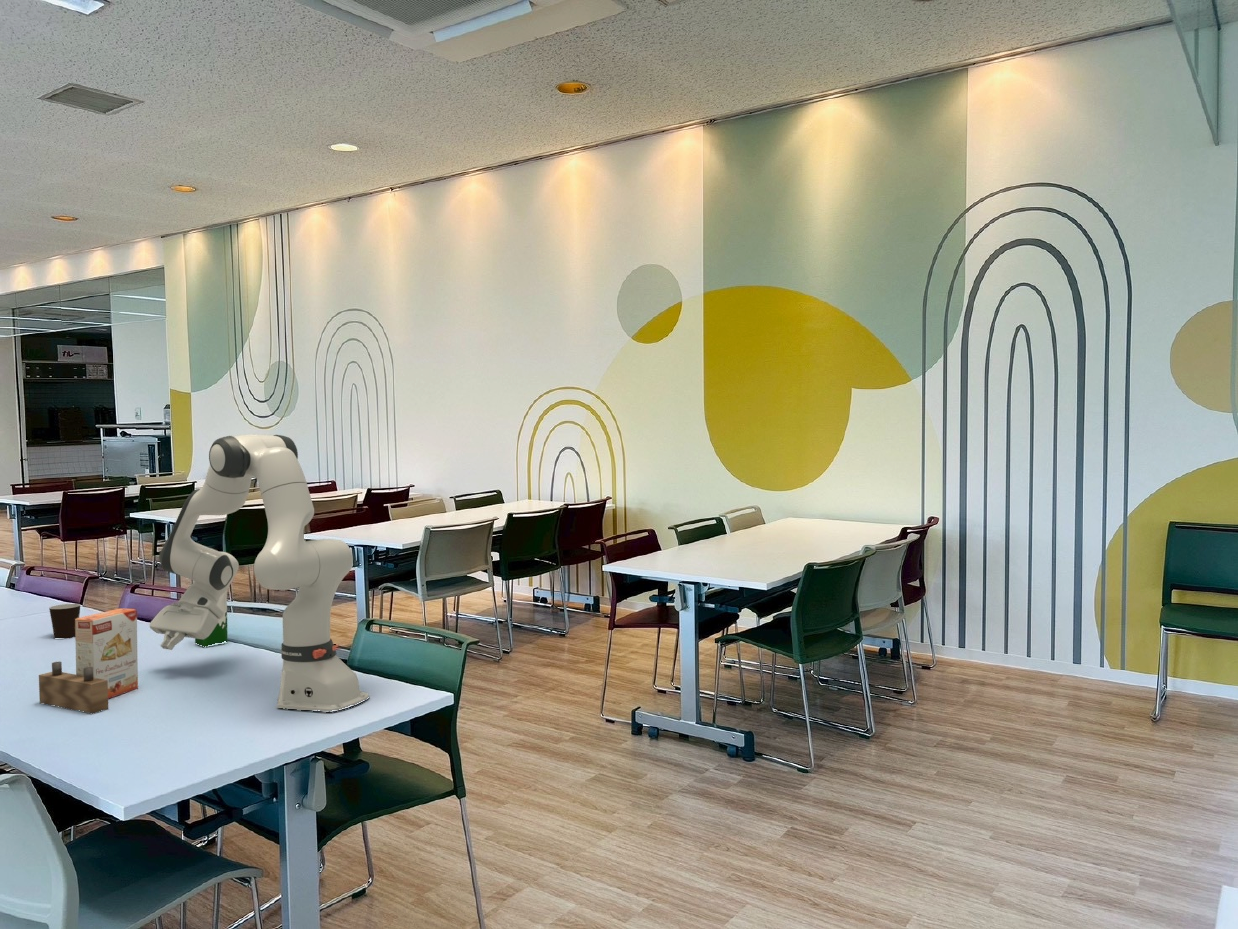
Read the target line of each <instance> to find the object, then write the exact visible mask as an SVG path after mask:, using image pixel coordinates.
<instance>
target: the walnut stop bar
mask: <svg viewBox="0 0 1238 929" xmlns="http://www.w3.org/2000/svg"><path fill="white" fill-rule="evenodd" d="M62 669H63V667H62V661H54V662H51V671H50V672H45V673H41V674H39V675H38V692H39V693H38V694H39V696H38V697H39V704H41V703H44V704H43V705H46V704H48V705H47V706H51V705H55V706H54V707H56V706H59V707H58V708H61V707H62V709H66V708H67V709H66V710H71V709H72V710H71V711H75V710H80V711H84V712H83V713H85V712H87V713H86V714H90V713H92V714H91V715H94V714H96V712H97V713H100V712H102V711H101V710H104V711H106V710H109V698H108V681H107V680H104V679H98V678H93V667H86V668H83V673H84V676H81V675H76V674H75V673H69V672H63V670H62ZM80 711H79V712H80ZM99 711H100V712H99ZM93 713H94V714H93Z"/></svg>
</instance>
